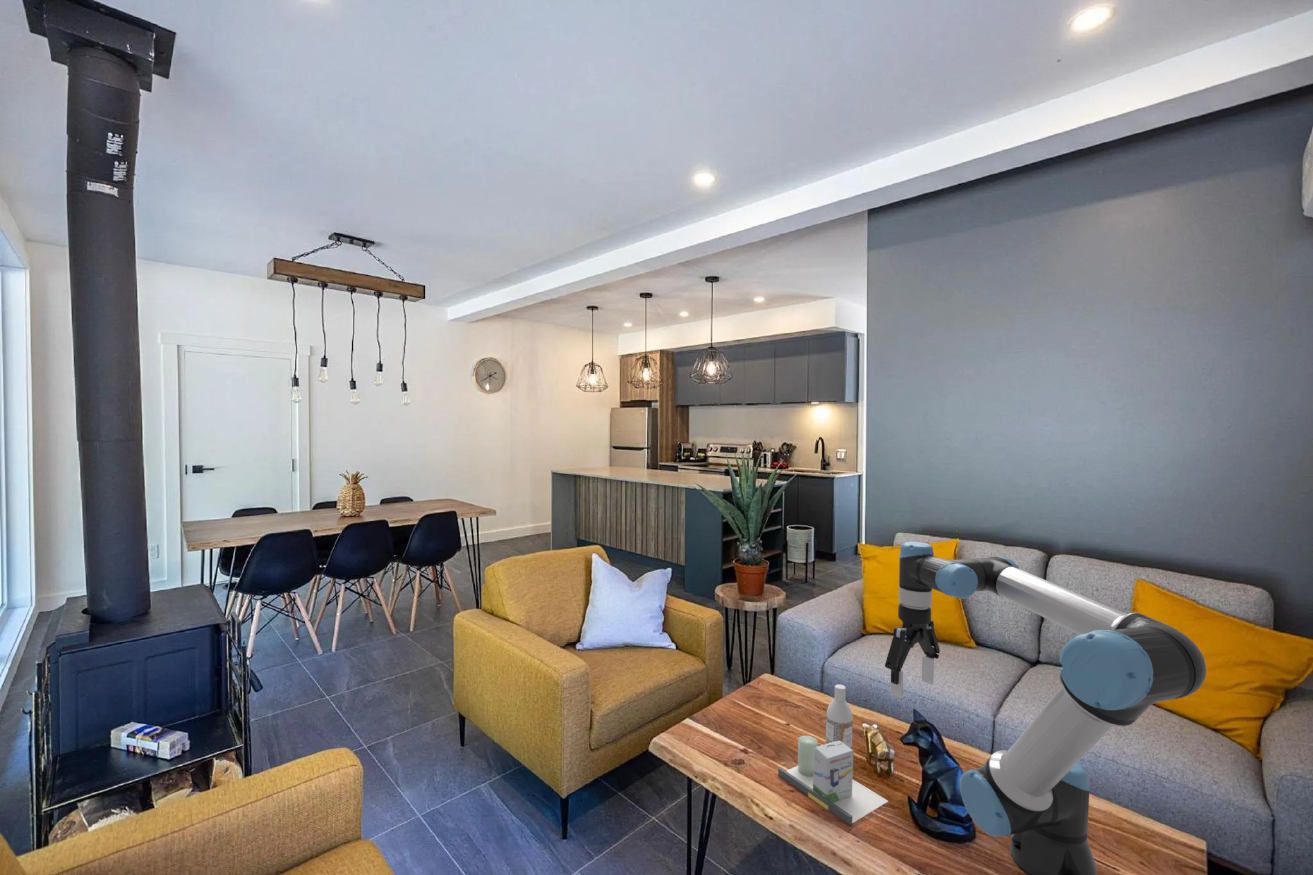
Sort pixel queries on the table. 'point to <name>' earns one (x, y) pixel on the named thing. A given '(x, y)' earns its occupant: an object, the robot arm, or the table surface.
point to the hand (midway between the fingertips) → (912, 689)
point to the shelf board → (844, 808)
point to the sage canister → (806, 755)
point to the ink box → (833, 771)
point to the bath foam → (839, 718)
